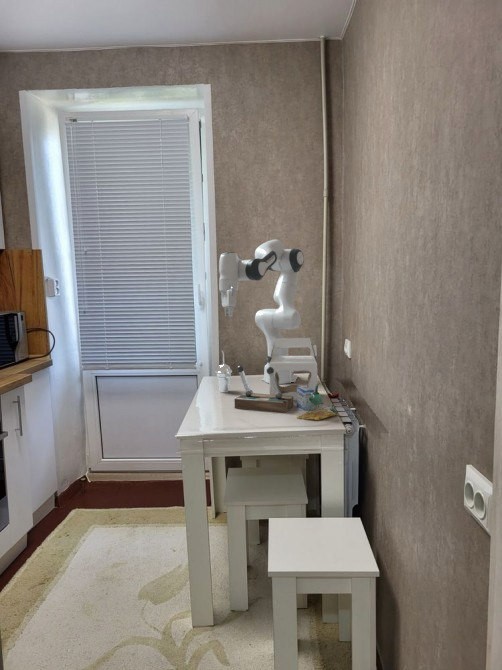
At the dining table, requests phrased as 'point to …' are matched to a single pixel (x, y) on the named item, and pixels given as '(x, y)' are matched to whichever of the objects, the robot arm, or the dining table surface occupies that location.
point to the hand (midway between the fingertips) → (229, 316)
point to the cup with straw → (223, 376)
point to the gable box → (293, 364)
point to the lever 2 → (274, 382)
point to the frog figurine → (317, 400)
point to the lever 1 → (244, 380)
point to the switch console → (264, 402)
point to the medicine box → (304, 397)
